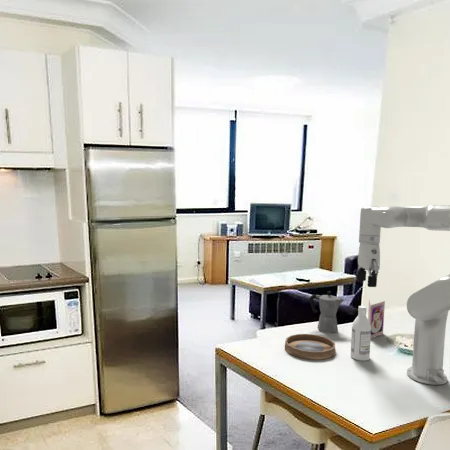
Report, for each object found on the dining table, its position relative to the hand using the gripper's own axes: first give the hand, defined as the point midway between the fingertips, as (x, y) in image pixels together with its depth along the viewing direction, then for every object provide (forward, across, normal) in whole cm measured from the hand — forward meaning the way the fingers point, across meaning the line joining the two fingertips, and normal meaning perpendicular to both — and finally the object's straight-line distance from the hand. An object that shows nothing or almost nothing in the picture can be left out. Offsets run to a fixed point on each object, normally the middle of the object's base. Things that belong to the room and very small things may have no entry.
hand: (366, 283), depth 160 cm
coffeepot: (+29, +31, +5) cm, 43 cm away
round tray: (+29, +7, +19) cm, 35 cm away
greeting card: (+29, +24, -14) cm, 40 cm away
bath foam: (+29, -1, +1) cm, 29 cm away
